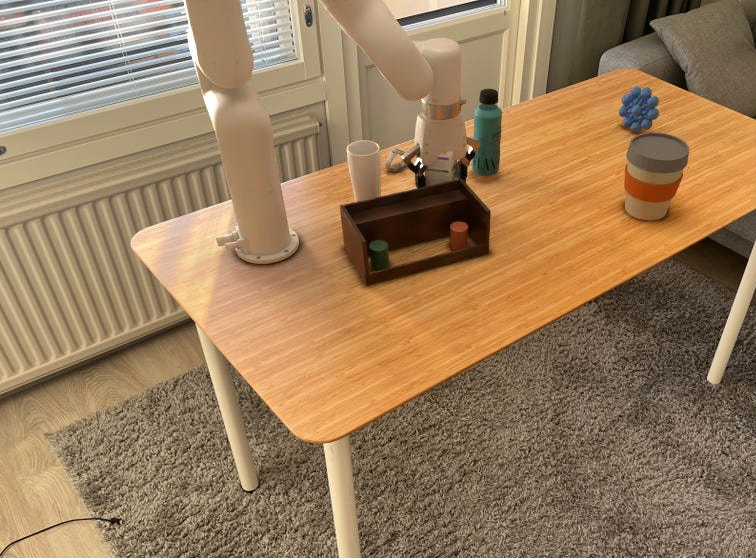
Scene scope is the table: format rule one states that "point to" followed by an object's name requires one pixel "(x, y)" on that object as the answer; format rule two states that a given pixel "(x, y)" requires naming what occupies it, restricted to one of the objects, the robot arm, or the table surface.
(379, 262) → the green spice tin
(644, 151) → the reusable coffee cup
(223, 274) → the table surface
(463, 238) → the salmon pink cylinder
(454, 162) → the syrup box
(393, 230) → the spice rack
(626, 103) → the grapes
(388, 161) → the wristwatch
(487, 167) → the beverage bottle
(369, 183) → the drinking glass
